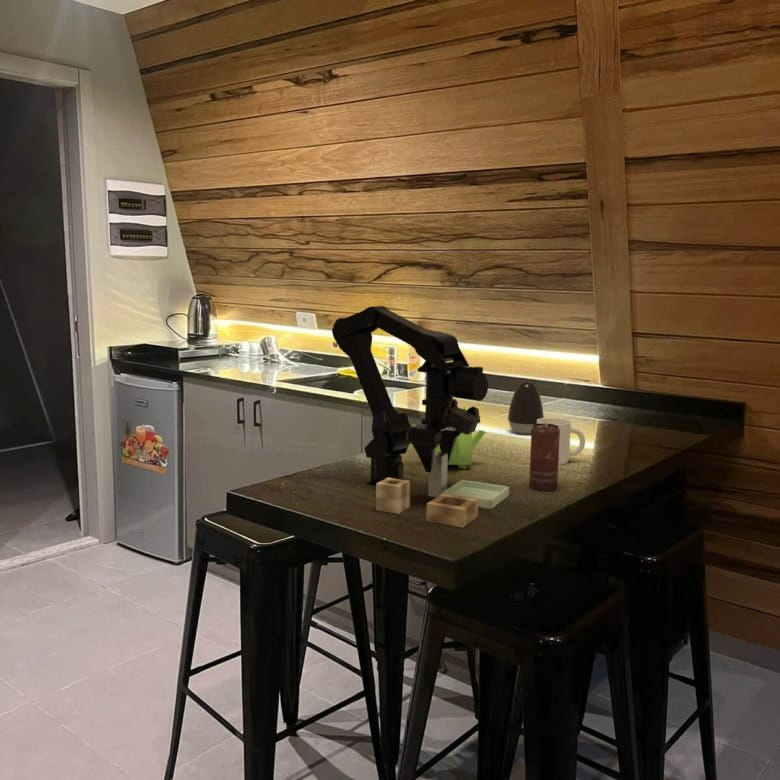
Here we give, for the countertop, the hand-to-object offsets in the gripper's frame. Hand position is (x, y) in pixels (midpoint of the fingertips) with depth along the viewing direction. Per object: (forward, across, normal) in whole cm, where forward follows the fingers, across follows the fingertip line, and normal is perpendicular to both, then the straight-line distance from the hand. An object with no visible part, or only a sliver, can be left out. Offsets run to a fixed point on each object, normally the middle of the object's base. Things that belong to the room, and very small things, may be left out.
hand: (437, 467), depth 169 cm
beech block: (+6, -13, +4) cm, 15 cm away
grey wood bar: (+6, 0, 0) cm, 6 cm away
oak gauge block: (+6, -13, -9) cm, 17 cm away
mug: (+6, +41, -15) cm, 44 cm away
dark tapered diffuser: (+6, +69, +3) cm, 69 cm away
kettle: (+6, +24, +8) cm, 26 cm away
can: (+6, +17, -18) cm, 26 cm away
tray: (+6, +2, -8) cm, 10 cm away
